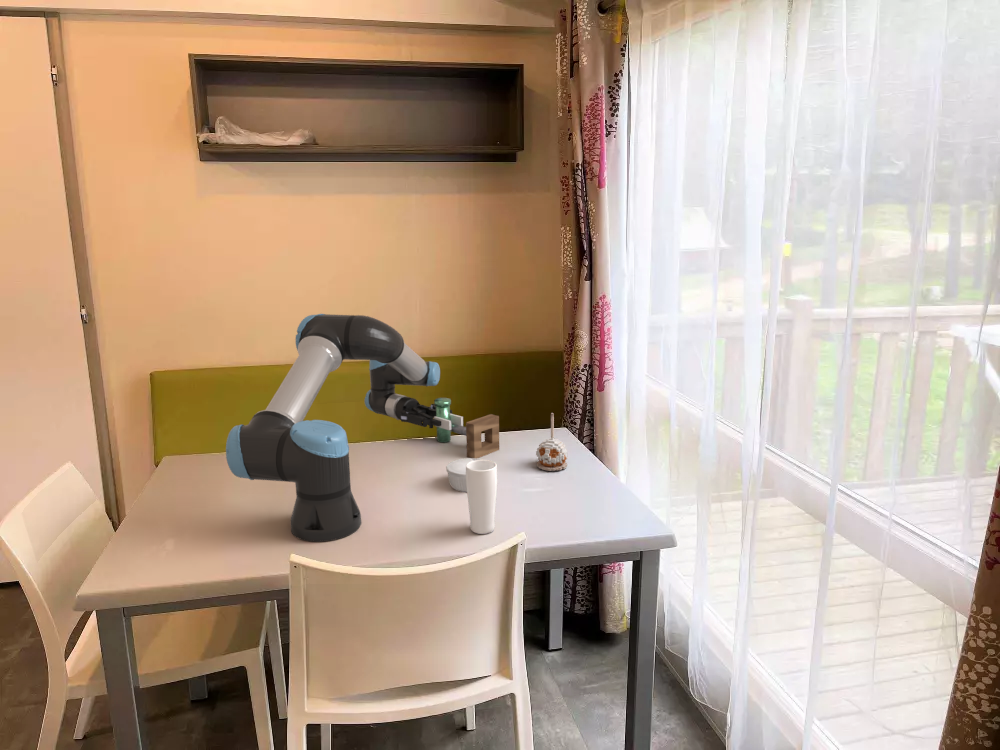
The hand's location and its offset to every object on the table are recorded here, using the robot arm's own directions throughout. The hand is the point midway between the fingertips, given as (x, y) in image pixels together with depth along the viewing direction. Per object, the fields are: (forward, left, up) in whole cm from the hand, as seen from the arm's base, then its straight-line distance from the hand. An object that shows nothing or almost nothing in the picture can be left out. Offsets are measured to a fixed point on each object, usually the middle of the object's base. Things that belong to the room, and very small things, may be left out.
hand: (456, 423), depth 211 cm
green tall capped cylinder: (0, 0, -6) cm, 6 cm away
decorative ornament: (-31, -10, -7) cm, 33 cm away
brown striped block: (-11, -2, -7) cm, 12 cm away
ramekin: (-27, +14, -7) cm, 31 cm away
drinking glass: (-49, +26, -7) cm, 56 cm away
